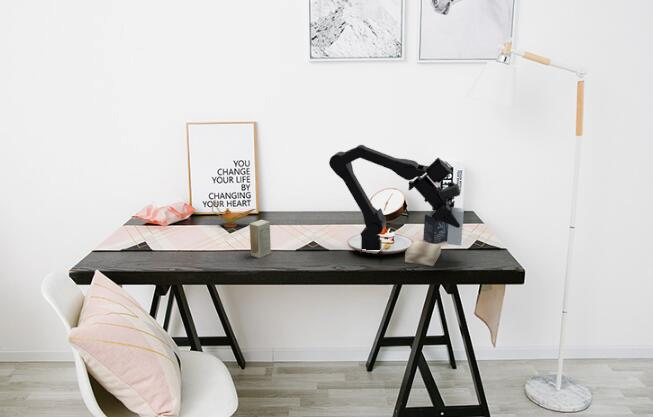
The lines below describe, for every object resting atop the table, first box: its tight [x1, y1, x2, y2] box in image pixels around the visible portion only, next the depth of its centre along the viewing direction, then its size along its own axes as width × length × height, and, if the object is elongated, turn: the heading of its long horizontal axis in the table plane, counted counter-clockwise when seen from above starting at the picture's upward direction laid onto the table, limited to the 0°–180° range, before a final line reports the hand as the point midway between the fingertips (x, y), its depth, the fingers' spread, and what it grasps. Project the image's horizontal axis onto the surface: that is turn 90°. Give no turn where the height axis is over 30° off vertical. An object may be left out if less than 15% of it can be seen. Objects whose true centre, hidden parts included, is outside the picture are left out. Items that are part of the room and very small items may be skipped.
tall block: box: [446, 206, 465, 246], centre depth 212 cm, size 4×4×12 cm
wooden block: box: [404, 240, 442, 267], centre depth 219 cm, size 10×12×4 cm
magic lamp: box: [211, 199, 257, 228], centre depth 252 cm, size 7×18×11 cm, turn 94°
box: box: [422, 212, 448, 244], centre depth 235 cm, size 8×6×11 cm
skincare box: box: [249, 219, 272, 259], centre depth 220 cm, size 6×4×12 cm
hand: (459, 224), depth 212 cm, fingers closed on tall block, 4 cm apart
